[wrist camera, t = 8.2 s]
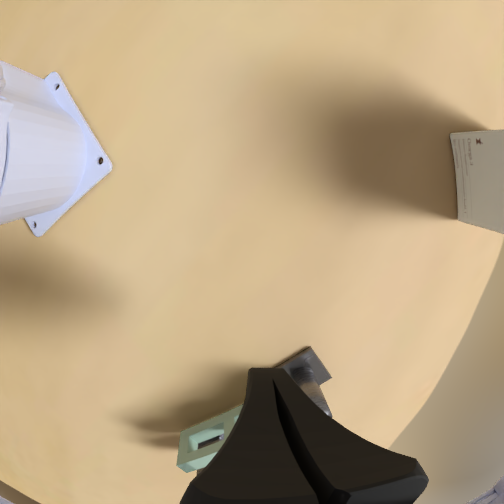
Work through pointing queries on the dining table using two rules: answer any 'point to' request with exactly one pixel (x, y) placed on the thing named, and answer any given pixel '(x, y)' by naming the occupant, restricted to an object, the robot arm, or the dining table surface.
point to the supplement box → (480, 177)
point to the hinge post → (309, 376)
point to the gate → (189, 440)
